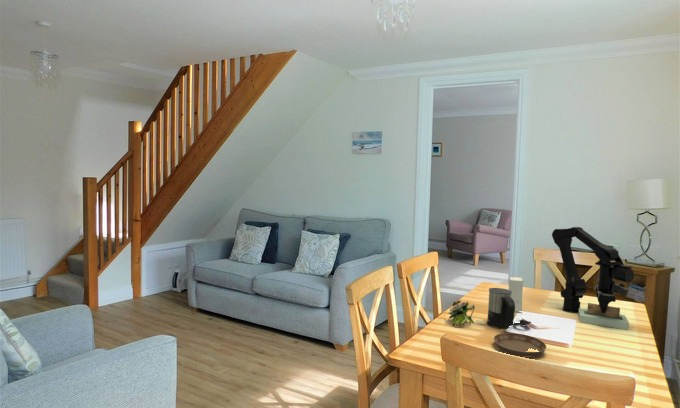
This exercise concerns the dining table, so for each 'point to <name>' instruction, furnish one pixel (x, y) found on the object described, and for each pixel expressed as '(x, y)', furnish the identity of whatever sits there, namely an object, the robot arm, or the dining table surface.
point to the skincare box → (516, 291)
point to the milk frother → (501, 309)
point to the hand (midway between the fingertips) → (603, 311)
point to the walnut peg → (597, 310)
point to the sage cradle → (603, 320)
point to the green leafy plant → (460, 313)
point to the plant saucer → (519, 344)
